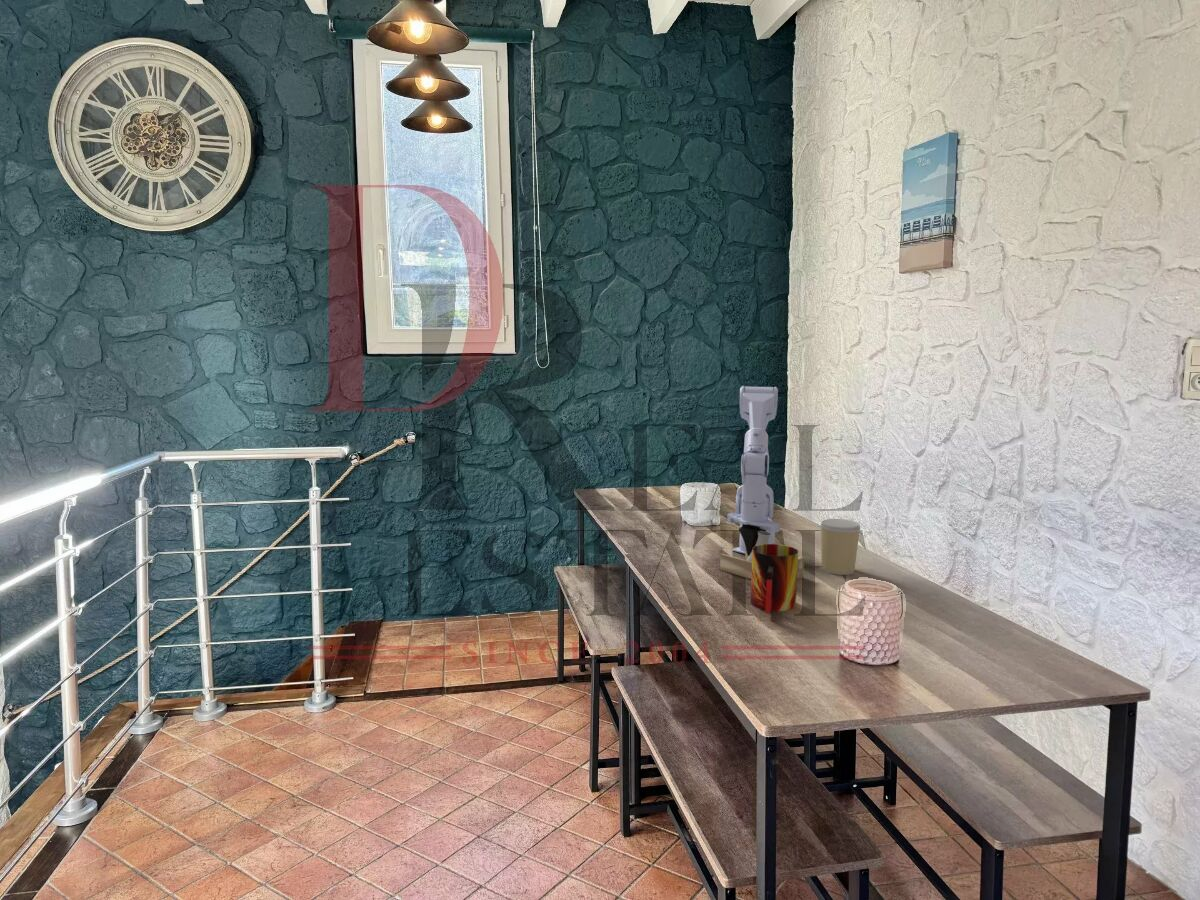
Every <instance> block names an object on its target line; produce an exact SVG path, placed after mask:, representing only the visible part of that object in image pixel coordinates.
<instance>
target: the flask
mask: <svg viewBox="0 0 1200 900" xmlns="http://www.w3.org/2000/svg"><path fill="white" fill-rule="evenodd" d="M758 535H759V536H758V540H757V542H756V545H755V546H757V545H762V544H768V540H769V537H770V536H771V533H769V532H766V531H758ZM747 560H748V561H751V562H752V552H751V554H750V555H749V557H748V558H747Z"/></svg>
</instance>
